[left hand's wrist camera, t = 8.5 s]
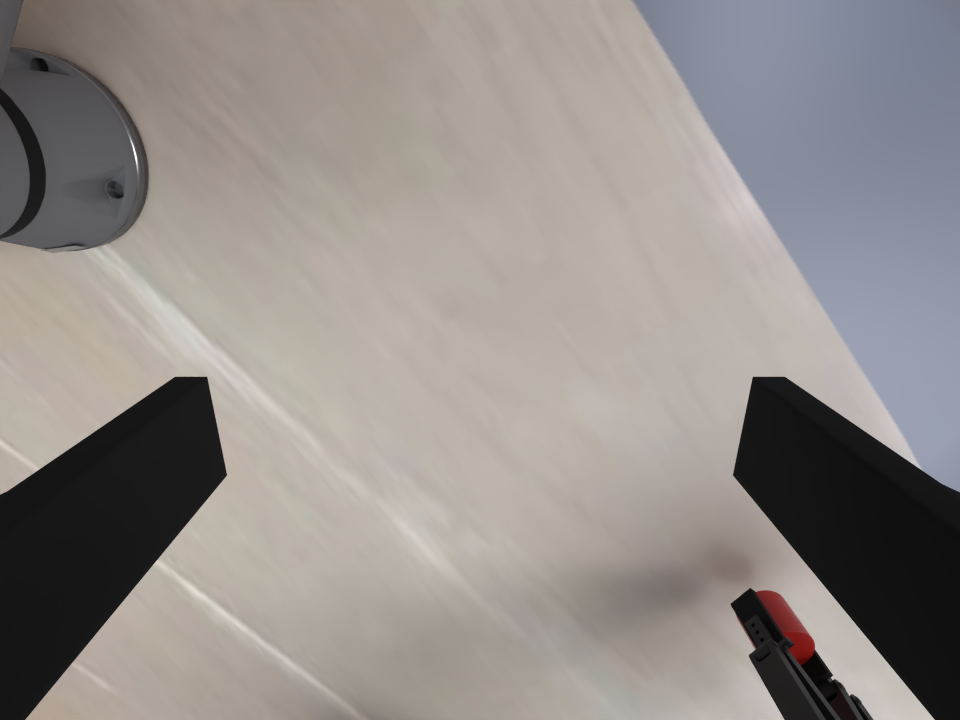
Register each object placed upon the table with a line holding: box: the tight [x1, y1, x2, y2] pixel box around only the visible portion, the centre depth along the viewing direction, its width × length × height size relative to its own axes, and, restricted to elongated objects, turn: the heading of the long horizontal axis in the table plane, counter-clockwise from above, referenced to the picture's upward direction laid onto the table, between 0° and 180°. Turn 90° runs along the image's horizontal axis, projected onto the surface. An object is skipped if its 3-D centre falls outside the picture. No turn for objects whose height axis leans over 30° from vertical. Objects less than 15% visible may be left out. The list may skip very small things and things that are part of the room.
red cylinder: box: [736, 590, 815, 666], centre depth 51 cm, size 5×5×5 cm
